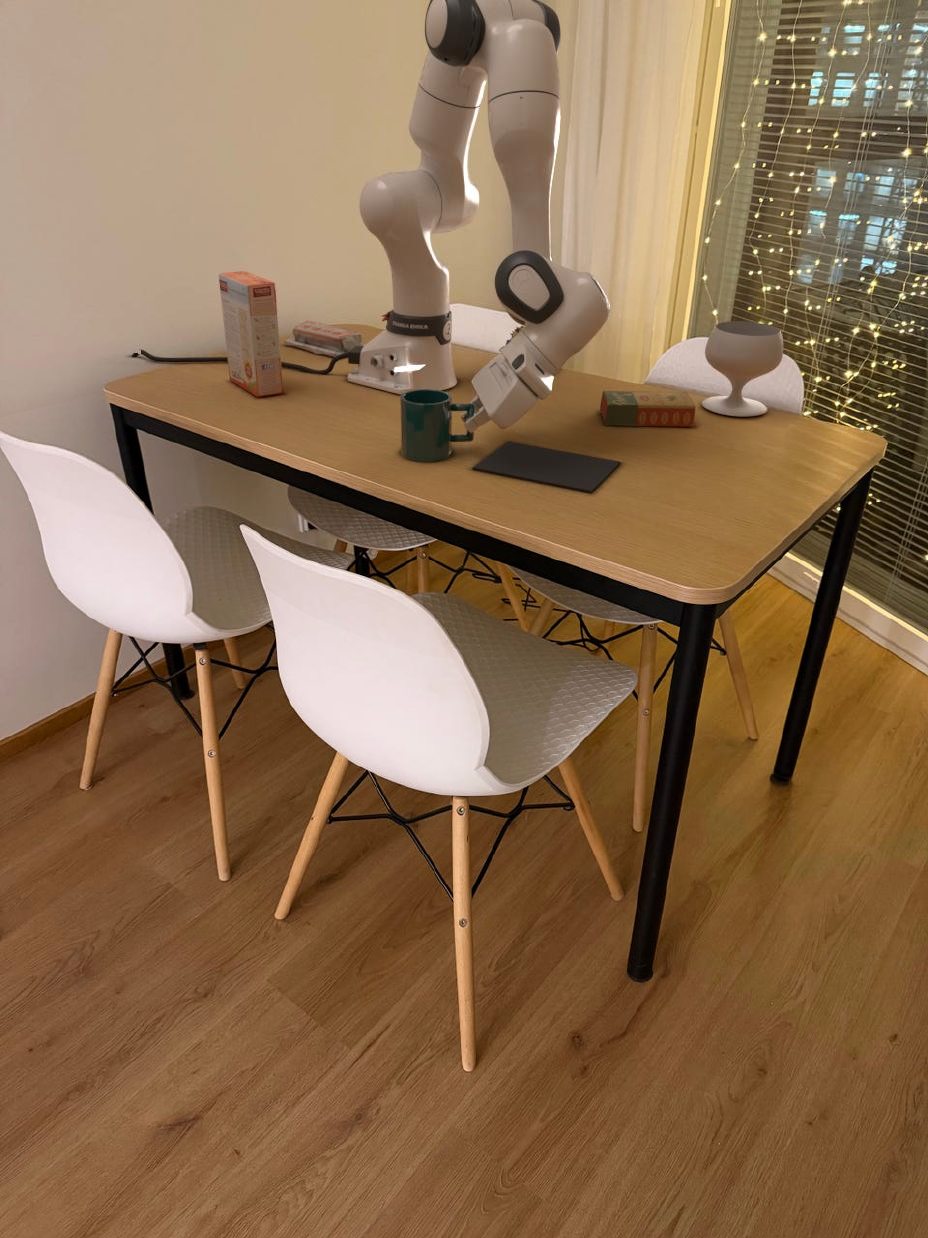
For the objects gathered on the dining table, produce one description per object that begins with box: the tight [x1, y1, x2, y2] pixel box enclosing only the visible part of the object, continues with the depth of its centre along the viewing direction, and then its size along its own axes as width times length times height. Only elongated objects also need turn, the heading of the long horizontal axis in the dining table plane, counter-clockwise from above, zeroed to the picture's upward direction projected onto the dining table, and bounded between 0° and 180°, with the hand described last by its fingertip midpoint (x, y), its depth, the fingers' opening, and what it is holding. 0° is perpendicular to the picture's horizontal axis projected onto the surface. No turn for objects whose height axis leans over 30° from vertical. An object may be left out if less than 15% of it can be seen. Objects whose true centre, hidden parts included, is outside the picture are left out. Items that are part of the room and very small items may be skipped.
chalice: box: [701, 320, 784, 417], centre depth 171 cm, size 14×14×15 cm
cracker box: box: [218, 270, 284, 398], centre depth 175 cm, size 14×6×21 cm, turn 34°
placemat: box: [472, 440, 621, 494], centre depth 146 cm, size 20×14×1 cm
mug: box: [399, 389, 475, 463], centre depth 149 cm, size 12×8×10 cm
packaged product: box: [283, 320, 367, 358], centre depth 206 cm, size 18×5×10 cm
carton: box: [599, 390, 697, 428], centre depth 167 cm, size 8×16×4 cm, turn 88°
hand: (465, 425), depth 149 cm, fingers closed
